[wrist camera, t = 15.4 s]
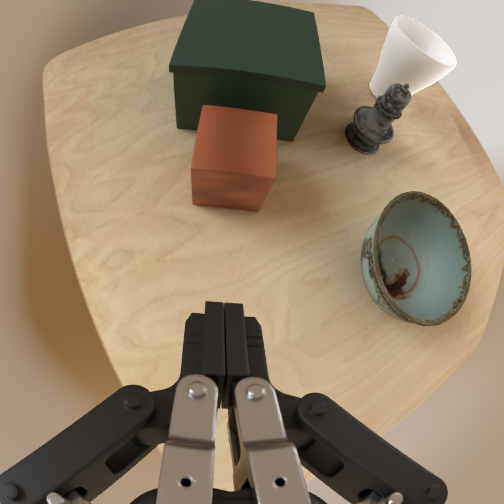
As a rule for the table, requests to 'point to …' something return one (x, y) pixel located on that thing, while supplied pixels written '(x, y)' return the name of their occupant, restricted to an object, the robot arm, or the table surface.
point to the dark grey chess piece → (377, 120)
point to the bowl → (416, 260)
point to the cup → (411, 57)
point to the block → (233, 158)
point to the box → (247, 62)
